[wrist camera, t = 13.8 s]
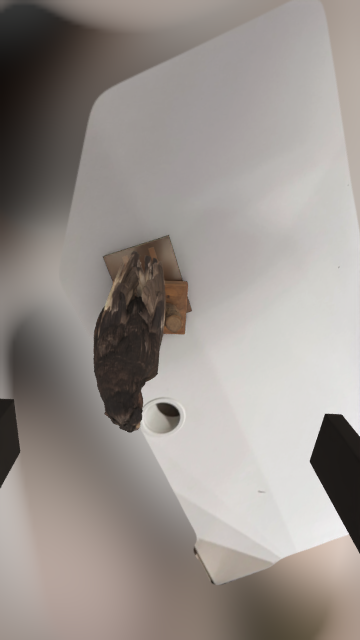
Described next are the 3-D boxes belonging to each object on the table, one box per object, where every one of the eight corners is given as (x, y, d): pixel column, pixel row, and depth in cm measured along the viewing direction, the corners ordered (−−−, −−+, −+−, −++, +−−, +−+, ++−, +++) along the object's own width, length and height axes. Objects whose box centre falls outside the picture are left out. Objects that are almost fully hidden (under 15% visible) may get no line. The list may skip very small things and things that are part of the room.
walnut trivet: (104, 255, 46) (102, 257, 45) (168, 235, 46) (168, 236, 45) (132, 326, 51) (131, 329, 50) (191, 309, 50) (192, 311, 49)
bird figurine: (190, 238, 45) (220, 282, 22) (183, 329, 50) (203, 444, 27) (113, 234, 44) (61, 276, 21) (115, 327, 49) (74, 443, 26)
